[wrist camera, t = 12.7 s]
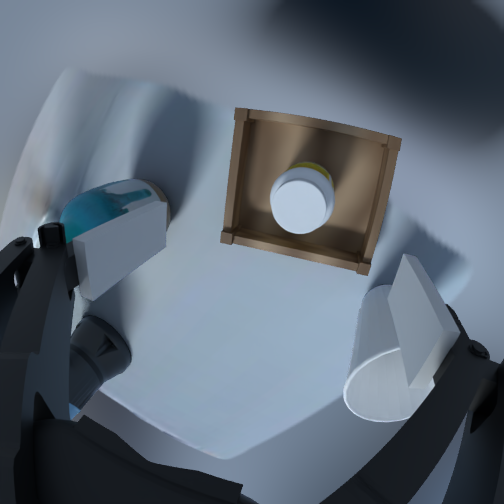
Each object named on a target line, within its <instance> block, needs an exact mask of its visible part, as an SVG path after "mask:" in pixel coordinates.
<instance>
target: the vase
mask: <svg viewBox="0 0 504 504" xmlns="http://www.w3.org/2000/svg"><path fill="white" fill-rule="evenodd" d="M154 201H160V202H166V203H167V219H166V232H167V230H168V227H169V224H170V217H171V214H170V206H169V202H168V200H167V198H166V196H165V194H164V193H163V192H162V190H161V189H160V188H159V187H158V186H156V185H155V184H153V183H151V182H149V181H147V180H143V179H127V180H121V181H116V182H112V183H108V184H105V185H102V186H99V187H96V188H93V189H91V190H89V191H86V192H84V193H82V194H80V195H78V196H77V197H75V198H74V199H72V200H71V201H70V202H69V203H68V204H67V205H66V207H65V208H64V210H63V212H62V214H61V217H60V223H63V224H64V227H65V236H66V244H67V243H69V242H71V241H72V239H73V238H75V237H77V236H79V235H81V234H83V233H85V232H87V231H89V230H91V229H93V228H95V227H97V226H100V225H102V224H104V223H106V222H108V221H110V220H113V219H115V218H117V217H119V216H121V215H124V214H126V213H128V212H131V211H133V210H135V209H137V208H140V207H142V206H145V205H147V204H149V203H152V202H154Z"/></svg>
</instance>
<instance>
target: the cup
mask: <svg viewBox="0 0 504 504" xmlns="http://www.w3.org/2000/svg"><path fill="white" fill-rule="evenodd" d="M391 288H392V285H387V284H386V285H380V286H377V287H374V288H373V289H371V290H370V291H369V292H368V293H367V294H366V295H365V296H364V298H363V300H362V303H361V308H360V310H359V313H358V318H357V324H356V331H355V337H354V343H353V348H352V354H351V359H350V364H349V369H348V374H347V379H346V383H345V385H344V388H343V393H344V400H345V403H346V405H347V407H348V408H349V409H350V410H351V411H352V412H353V413H354V414H355V415H358V416H359V417H361V418H364V419H367V420H371V421H375V422H392V421H399V420H404V419H407V418H410V417H411V416H412V415H413V414H414V412H415V411H416V410H417V409H418V407H419V406H420V405H421V404H422V402H423V401H424V400H425V398H426V397H427V396H428V394H429V393H430V392H431V390H432V389H433V388H434V386H435V384H434V380H433V378H432V380H431V381H430V383H429V384H428V386H427V387H426V388H425V389H417V388H408V382H407V377H406V372H405V367H404V363H403V358H402V353H401V349H400V345H399V341H398V337H397V332H396V329H395V325H394V321H393V317H392V313H391V310H390V306H389V303H388V299H387V298H388V295H389V293H390V290H391Z"/></svg>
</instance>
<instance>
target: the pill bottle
mask: <svg viewBox="0 0 504 504" xmlns="http://www.w3.org/2000/svg"><path fill="white" fill-rule="evenodd" d="M270 204H271V208H272V213H273V216H274V218H275V220H276V221H277V223H278V224H279V225H280V226H281V227H282V228H283V229H285V230H287V231H289V232H291V233H295V234H305V233H309V232H311V231H313V230H315V229H317V228H319V227H320V226H322V225H323V224H324V223H325V222H326V221H327V220H328V219H329V218H330V216H331V214H332V212H333V209H334V205H335V192H334V184H333V180H332V178H331V176H330V174H329V172H328V171H327V170H326V169H325V168H324V167H323V166H321V165H319V164H317V163H315V162H310V161H304V162H299V163H297V164H294V165H293V166H291V167H290V168H289V169H287V170H286V171H285V172H284V173H282V174H281V175H280V176H279V177H278V178H277V179H276V181H275V182H274V184H273V186H272V189H271V193H270Z"/></svg>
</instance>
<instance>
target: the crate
mask: <svg viewBox="0 0 504 504" xmlns="http://www.w3.org/2000/svg"><path fill="white" fill-rule="evenodd" d="M234 120H235V128H234V135H233V143H232V152H231V160H230V169H229V177H228V186H227V196H226V205H225V215H224V225H223V231H221V239H220V243H225V244H229V245H232V243H234V244H238V245H243V246H247V247H252V248H256V249H261V250H265V251H269V252H274V253H278V254H283V255H287V256H292V257H296V258H300V259H305V260H309V261H314V262H318V263H322V264H327V265H331V266H336V267H340V268H344V269H349V270H353V271H356V273H357V274H361V275H366V276H368V274H369V270H370V267H371V260H372V257H373V254H374V250H375V247H376V243H377V240H378V236H379V233H380V229H381V225H382V222H383V218H384V214H385V210H386V206H387V202H388V198H389V193H390V189H391V184H392V180H393V175H394V170H395V166H396V160H397V155H398V151H400V146H401V140H402V139H401V138H398V137H395V136H391V135H386V134H382V133H379V132H375V131H371V130H367V129H363V128H359V127H355V126H350V125H346V124H341V123H336V122H332V121H327V120H321V119H316V118H310V117H305V116H298V115H292V114H285V113H278V112H270V111H262V110H253V109H247V108H235V114H234ZM304 161H310V162H315V163H317V164H319V165H321V166H323V167H324V168H325V169H326V170H327V171H328V172H329V174H330V176H331V178H332V180H333V184H334V192H335V205H334V209H333V212H332V214H331V216H330V218H329V219H328V220H327V221H326V222H325V223H324V224H323V225H322V226H320V227H319V228H317V229H315V230H313V231H311V232H309V233H305V234H295V233H291V232H289V231H287V230H285V229H283V228H282V227H281V226H280V225H279V224H278V223H277V221H276V220H275V218H274V216H273V213H272V208H271V204H270V193H271V189H272V186H273V184H274V182H275V181H276V179H277V178H278V177H279V176H280V175H281V174H282V173H284V172H285V171H286V170H287V169H289V168H290V167H291V166H293V165H294V164H297V163H299V162H304Z"/></svg>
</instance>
